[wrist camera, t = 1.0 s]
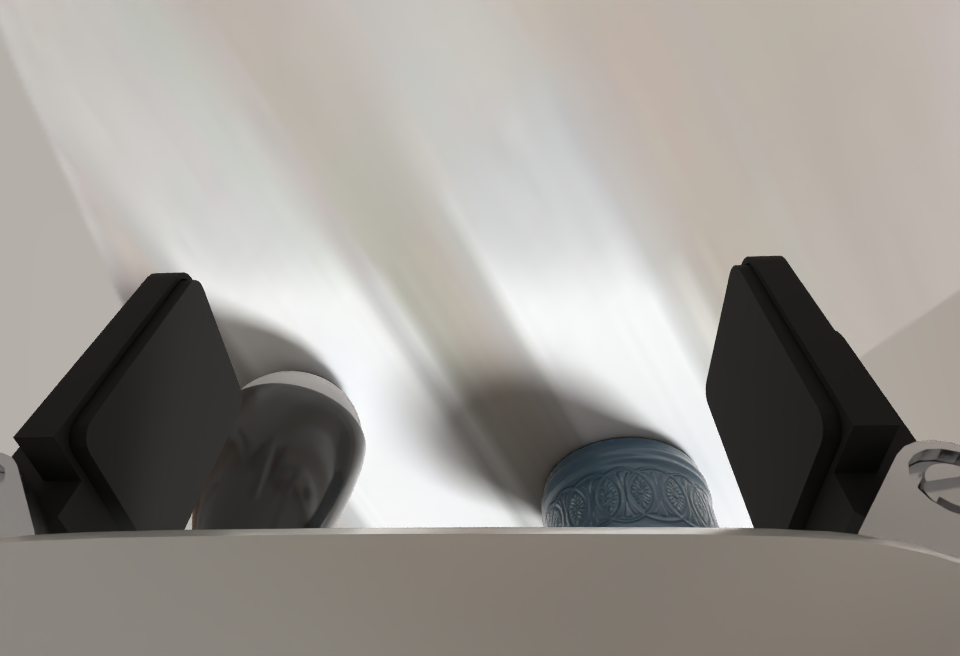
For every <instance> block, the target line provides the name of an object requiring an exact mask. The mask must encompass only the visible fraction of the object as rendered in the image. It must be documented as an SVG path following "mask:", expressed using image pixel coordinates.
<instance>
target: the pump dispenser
mask: <svg viewBox="0 0 960 656" xmlns="http://www.w3.org/2000/svg"><path fill="white" fill-rule="evenodd" d="M241 393H242V407H241V410H240V413H239V415H238V417H237V419H236V421H235V423H234V425H233V427H232V430H231V432H230V434H229V436H228V438H227V440H226V442H225V444H224V447H223V449H222V451H221V453H220V455H219V457H218V459H217V461H216V464H215V466H214V468H213V470H212V472H211V474H210V476H209V478H208V481H207V483H206V485H205V487H204V489H203V491H202V493H201V495H200V497H199V500H198V502H197V504H196V506H195V508H194V510H193V512H192V530H219V529H306V528H335V526H336V524H337V523H338V521H339V519H340V517H341V515H342V513H343V512H344V510H345V508H346V506H347V503H348V501H349V499H350V497H351V494H352V492H353V490H354V487H355V485H356V482H357V480H358V477H359V475H360V472H361V469H362V465H363V461H364V457H365V450H366V443H365V437H364V434H363V431H362V429H361V424H360V420H359V417H358V414H357V412H356V410H355V408H354V406H353V404H352V403H351V401H350V400H349V398H348V397H347V396H346V395H345V394H344V393H343V392H342V391H341V390H340V389H339V388H338V387H337V386H335V385H334V384H332V383H331V382H329V381H328V380H326V379H324V378H321V377H319V376H316V375H314V374H310V373H306V372H299V371H281V372H275V373H270V374H267V375H264V376H261V377H259V378H257V379H255V380H253V381H252V382H250V383H248V384H247V385H246V386H244V387H243V388H242V389H241Z"/></svg>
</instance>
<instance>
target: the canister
mask: <svg viewBox="0 0 960 656" xmlns="http://www.w3.org/2000/svg"><path fill="white" fill-rule="evenodd" d="M541 510H542V522H543V526H544V527H695V528H719V527H718V524H717V520H716V517H715V514H714V511H713V508H712V498H711V494H710V491H709V489H708V485H707V483H706V481H705V479H704V477H703V475H702V474H701V473H700V472H699V470H698V468H697V466H696V465H695V463H694V462H693V461H692V459H691V458H690V457H688V456H687V455H686V454H685V453H684V452H682V451H681V450H679V449H677V448H675V447H673V446H671V445H669V444H666V443H663V442H659V441H655V440H651V439H643V438H618V439H610V440H605V441H601V442H597V443H593V444H591V445H588V446H585V447H583V448H581V449H579V450H577V451H575V452H573V453H571V454H570V455H568V456H567V457H565V458H564V459H563V460H562V461H561V462H559V463H558V464H557V465H556V466H555V468H554V469H553V470H552V471H551V473H550V474H549V476H548V478H547V480H546V483H545V487H544V494H543V498H542V503H541Z"/></svg>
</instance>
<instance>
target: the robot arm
mask: <svg viewBox="0 0 960 656" xmlns="http://www.w3.org/2000/svg"><path fill="white" fill-rule="evenodd" d="M706 398H707V402H708V405H709V408H710V411H711V413H712V416H713V419H714V422H715V424H716V427H717V430H718V432H719V435H720V438H721V440H722V443H723V446H724V448H725V451H726V454H727V457H728V459H729V462H730V465H731V467H732V470H733V473H734V475H735V478H736V481H737V483H738V486H739V489H740V492H741V494H742V497H743V500H744V502H745V505H746V508H747V510H748V513H749V516H750V518H751V521H752V524H753V527H754V528H695V527H452V528H306V529H219V530H184V529H185V527H186V525H187V523H188V521H189V519H190V517H191V514H192V512H193V510H194V508H195V506H196V504H197V502H198V500H199V497H200V495H201V493H202V491H203V489H204V487H205V485H206V483H207V481H208V478H209V476H210V474H211V472H212V470H213V468H214V466H215V464H216V461H217V459H218V457H219V455H220V453H221V451H222V449H223V447H224V444H225V442H226V440H227V438H228V436H229V434H230V432H231V430H232V427H233V425H234V423H235V421H236V419H237V417H238V415H239V413H240V410H241V407H242V393H241V389H240V386H239V384H238V381H237V378H236V375H235V373H234V370H233V367H232V365H231V362H230V359H229V357H228V354H227V351H226V348H225V346H224V343H223V340H222V338H221V335H220V332H219V330H218V327H217V324H216V321H215V319H214V316H213V313H212V311H211V308H210V305H209V303H208V300H207V297H206V294H205V292H204V289H203V287H202V285H201V283H200V282H199V281H197V280H192V278H191V277H190V276H189V275H188V274H186V273H155V274H151V275H150V276H148V277H147V278H146V280H145V281H144V282H143V283H142V284H141V286H140V287H139V288H138V289H137V290H136V292H135V293H134V294H133V295H132V296H131V297H130V299H129V300H128V301H127V302H126V303H125V305H124V306H123V307H122V308H121V309H120V311H119V312H118V313H117V314H116V315H115V317H114V318H113V319H112V320H111V321H110V323H109V324H108V325H107V326H106V327H105V329H104V330H103V331H102V332H101V333H100V335H99V336H98V337H97V338H96V339H95V341H94V342H93V343H92V344H91V345H90V346H89V348H88V349H87V350H86V351H85V352H84V354H83V355H82V356H81V357H80V358H79V360H78V361H77V362H76V363H75V364H74V366H73V367H72V368H71V369H70V370H69V372H68V373H67V374H66V375H65V377H63V379H62V380H61V381H60V382H59V383H58V385H57V386H56V387H55V388H54V389H53V391H52V392H51V393H50V394H49V395H48V397H47V398H46V399H45V400H44V401H43V403H42V404H41V405H40V406H39V407H38V408H37V410H36V411H35V412H34V413H33V414H32V416H31V417H30V418H29V419H28V420H27V422H26V423H25V424H24V425H23V427H22V428H21V429H20V430H19V431H18V433H17V434H16V435H15V436H14V437H13V438H14V439H15V441H16V442H17V443H18V445H19V446H20V447H19V448H18V450H17V451H16V452H15V453H14V455H13V456H12V457H10V456H8V455H6V454H3V453H0V656H960V445H958V444H955V443H950V442H944V441H937V440H929V441H928V440H927V441H916V440H915V439H914V437H913V436H912V434H911V433H910V431H909V430H908V428H907V427H906V426H905V424H904V423H903V421H902V420H901V418H900V417H899V416H898V414H897V413H896V411H895V410H894V408H893V407H892V406H891V404H890V403H889V401H888V400H887V398H886V397H885V396H884V394H883V393H882V391H881V390H880V388H879V387H878V386H877V384H876V383H875V381H874V380H873V379H872V377H871V376H870V374H869V373H868V371H867V370H866V369H865V367H864V366H863V364H862V363H861V361H860V360H859V359H858V357H857V356H856V354H855V353H854V351H853V350H852V349H851V347H850V346H849V344H848V343H847V341H846V340H845V339H844V337H843V336H842V335H841V334H840V333H839V332H837V331H835V330H834V329H833V327H832V326H831V324H830V323H829V321H828V320H827V319H826V317H825V316H824V314H823V313H822V311H821V310H820V308H819V307H818V306H817V304H816V303H815V301H814V300H813V298H812V297H811V295H810V294H809V293H808V291H807V290H806V288H805V287H804V285H803V284H802V283H801V281H800V280H799V278H798V277H797V275H796V274H795V272H794V271H793V270H792V268H791V267H790V265H789V264H788V262H787V261H786V259H785V258H784V257H782V256H755V257H746V258H745V259H744V260H743V262H742V264H741V265H735V266H733V267H732V269H731V272H730V275H729V280H728V285H727V289H726V294H725V298H724V303H723V308H722V312H721V317H720V322H719V326H718V331H717V335H716V340H715V345H714V349H713V354H712V358H711V363H710V368H709V372H708V377H707V382H706Z"/></svg>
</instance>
